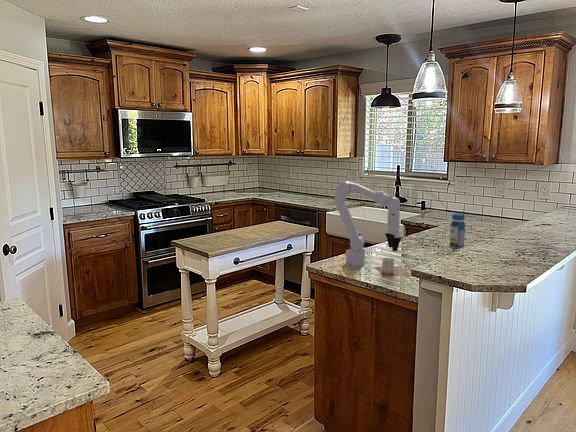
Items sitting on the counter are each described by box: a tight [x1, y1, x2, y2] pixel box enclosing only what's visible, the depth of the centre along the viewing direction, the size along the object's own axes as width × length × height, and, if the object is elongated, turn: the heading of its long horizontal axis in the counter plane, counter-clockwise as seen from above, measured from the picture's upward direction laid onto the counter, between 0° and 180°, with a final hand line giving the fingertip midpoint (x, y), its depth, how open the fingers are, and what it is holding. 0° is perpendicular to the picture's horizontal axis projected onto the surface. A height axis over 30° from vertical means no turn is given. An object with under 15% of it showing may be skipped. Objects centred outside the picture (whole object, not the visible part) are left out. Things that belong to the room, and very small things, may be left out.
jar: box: [382, 269, 394, 275], centre depth 211 cm, size 5×5×5 cm
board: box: [374, 265, 412, 278], centre depth 215 cm, size 13×17×1 cm
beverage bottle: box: [449, 212, 466, 249], centre depth 263 cm, size 8×8×20 cm
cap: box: [381, 257, 395, 271], centre depth 211 cm, size 5×5×5 cm
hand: (392, 249), depth 222 cm, fingers open, 7 cm apart
